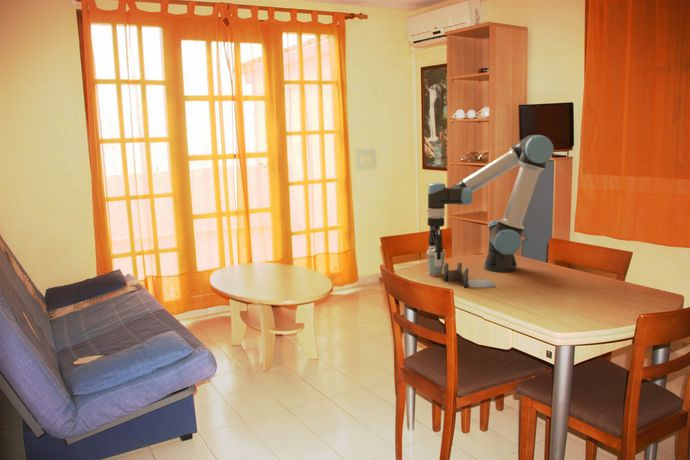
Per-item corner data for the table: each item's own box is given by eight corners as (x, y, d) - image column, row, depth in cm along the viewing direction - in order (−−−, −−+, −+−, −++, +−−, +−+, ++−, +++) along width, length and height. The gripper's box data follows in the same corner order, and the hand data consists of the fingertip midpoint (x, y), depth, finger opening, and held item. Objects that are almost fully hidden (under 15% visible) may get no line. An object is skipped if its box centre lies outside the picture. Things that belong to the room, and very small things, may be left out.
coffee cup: (444, 272, 278) (444, 247, 276) (445, 277, 270) (445, 251, 268) (426, 272, 279) (426, 247, 277) (426, 277, 271) (426, 251, 269)
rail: (460, 280, 264) (461, 262, 263) (468, 288, 252) (469, 269, 250) (443, 280, 264) (443, 263, 263) (450, 288, 251) (450, 270, 250)
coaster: (488, 280, 263) (488, 279, 262) (495, 287, 252) (495, 286, 252) (463, 281, 262) (463, 280, 262) (470, 288, 251) (470, 286, 251)
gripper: (422, 213, 282) (421, 256, 286) (433, 221, 258) (432, 269, 261) (438, 213, 283) (437, 256, 286) (450, 221, 258) (449, 269, 262)
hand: (434, 262), depth 274 cm, fingers open, 13 cm apart
